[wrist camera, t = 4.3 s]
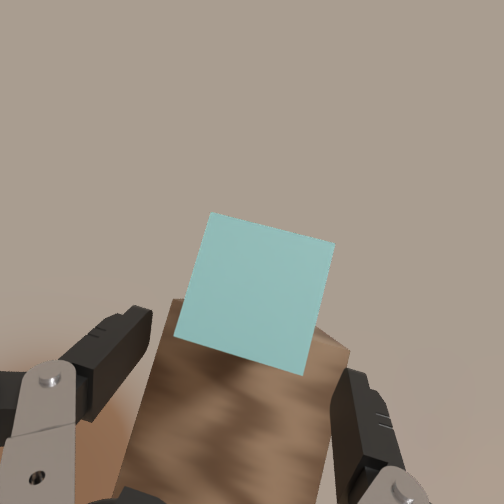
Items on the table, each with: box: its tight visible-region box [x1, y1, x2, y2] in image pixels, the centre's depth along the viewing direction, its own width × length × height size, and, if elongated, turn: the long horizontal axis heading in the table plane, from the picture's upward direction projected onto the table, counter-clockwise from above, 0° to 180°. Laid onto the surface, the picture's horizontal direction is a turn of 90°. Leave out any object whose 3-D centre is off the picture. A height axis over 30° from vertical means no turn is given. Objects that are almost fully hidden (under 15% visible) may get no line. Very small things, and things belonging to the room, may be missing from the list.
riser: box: [112, 299, 350, 504], centre depth 27 cm, size 12×18×32 cm, turn 175°
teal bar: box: [173, 212, 335, 376], centre depth 23 cm, size 4×28×4 cm, turn 175°
